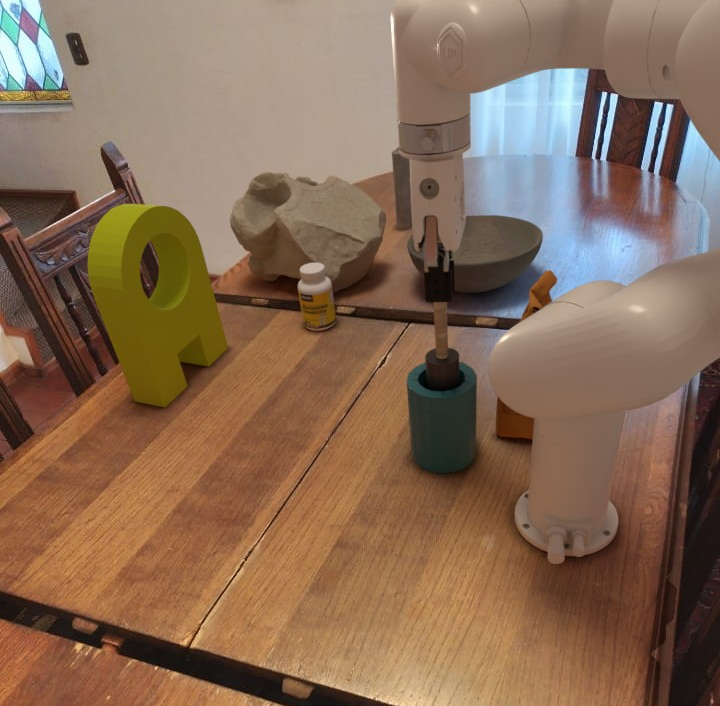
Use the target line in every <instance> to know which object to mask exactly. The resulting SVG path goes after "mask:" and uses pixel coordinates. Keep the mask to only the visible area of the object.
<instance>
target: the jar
mask: <svg viewBox="0 0 720 706" xmlns="http://www.w3.org/2000/svg"><path fill="white" fill-rule="evenodd" d="M459 368H460V382H459V384H458V386H456V387H455V388H453V389H450V390H446V391H438V390H434V389H431V388H430V387H429V386H428V385H427V379H426V361H425V362H423V363H420V364H419V365H416V366H414V367H413V369H412V370H411V371H409V372H408V373H407V376H406V377H407V378H406V389H407V390H406V393H407V394H406V395H407V406H408V408H407V409H408V420H409V421H408V423H409V435H410V447H411V448H410V449H411V452H412V454H411V456H412V459H413V461H414V462H415V464H416V465H417V466H418V467H420V468H421V469H422V470H426V471H427V472H430V473H435V474H451V473H455V472H458V471H462V470H464V469H465V468H467V467H468V466H470V465H471V464H472V463H473V461H474V460H475V458H476V455H477V405H478V403H477V402H478V401H477V400H478V399H477V397H478V396H477V395H478V394H477V393H478V392H477V391H478V387H477V386H478V376H477V373H476V372H475V370H474V369H473V367H471V366H470V365H468V364H467V363H465V362H463V361H459Z"/></svg>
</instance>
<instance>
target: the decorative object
mask: <svg viewBox="0 0 720 706" xmlns="http://www.w3.org/2000/svg"><path fill="white" fill-rule="evenodd" d="M149 242H151V244H152V246H153V248H154V251H155V254H156V256H157V263H158V277H157V283H156V285H155V288H154V290H153V293H152V294H151V296H150V297H149V298H148V297H147V294H146V293H145V290H144V288H143V284H142V279H141V263H142V257H143V253H144V251H145V248H146V247H147V245H148V244H149ZM87 276H88V282H89V287H90V290H91V293H92V296H93V299H94V300H95V304H96V307H97V309H98V312H99V314H100V318H101V319H102V321H103V324H104V327H105V329H106V331H107V334H108V337H109V340H110V342H111V344H112V347H113V350H114V352H115V354H116V357H117V360H118V362H119V366H120V367H121V370H122V373H123V376H124V378H125V381H126V383H127V385H128V388H129V391H130V393H131V396H132V398H133V401H134V402H135V403H141V404H146V405H150V406H156V407H161V408H166V407H167V406H168V405H170V404H171V403H172V402H173V401H174V400H175V399H176V398H177V397H178V396H179V395H180V394H181V393H182V392H183V391H185V390H186V389H187V388H188V383H187V379H186V376H185V374H184V370H183V367H182V364H181V363H186V364H192V365H197V366H204V367H210V366H211V365H212V364H213V363H214V362H216V360H218V359H219V358H220V357H221V356H222V355H223V354H224V353H225V352H226V351H227V350H228V349H229V346H228V342H227V338H226V335H225V330H224V326H223V322H222V319H221V318H222V317H221V315H220V311H219V307H218V304H217V301H216V296H215V292H214V288H213V285H212V281H211V277H210V273H209V269H208V266H207V262H206V259H205V255H204V251H203V248H202V244H201V241H200V238H199V236H198V234H197V231H196V229H195V228H194V225H192V223H191V221H190V220H189V219H188V218H187V217H186V215H184V214H183V213H182V212H181V211H179V210H177V208H176V209H175V208H173V207H171V206H167V205H157V204H156V205H155V204H143V203H142V204H140V203H123V204H119V205H117V206H115V207H113V208H111V209H109V210H108V211H107V212H106V213H105V214H104V215H103V216H102V217H101V219H100V220H99V222H97V224H96V226H95V229H94V231H93V233H92V235H91V239H90V241H89V245H88V252H87Z"/></svg>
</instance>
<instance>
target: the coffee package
mask: <svg viewBox="0 0 720 706" xmlns="http://www.w3.org/2000/svg"><path fill="white" fill-rule="evenodd" d="M557 282H558V277H557V276H556V275H555V273H554V272H553V271H552V270H545V271H544V273H543V274H542V275H541V276H540V278H539V279H538V280H536V282H535V283H534V284H533V286H531V288H529V290H528V292H529V293H528V302H527V304H526V306H525V308H524V310H523V312H522V315H521V319H520V320H519V321H518V323H520V322H521V321H523V320H524V319H526V318H528V317H529V316H531V315H532V314H534V313H536V312H537V311H539V310H540V309H541V308H543V307H544V306H546V305H547V304H549V303H550V302H552V301H553V300H552V296H551V293H550V291H551V290H552V289H553V288H554V287H555V286H556V285H557ZM496 397H497V399H496V411H495V412H496V413H495V433H496V435H497V436H499V437H502V438H515V439H516V438H523V439H527V440H532V441H533V428H534V419H535V418H531V417H528V416H525V415H522V414H520V413H518V412H516V411H514V410H512V409H511V408H509V407H508V406H507V405H505V404H504V403H503V402H502V401H501V400H500V398H499V397H498V396H497V395H496Z"/></svg>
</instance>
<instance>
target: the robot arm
mask: <svg viewBox="0 0 720 706" xmlns="http://www.w3.org/2000/svg"><path fill="white" fill-rule="evenodd" d="M390 35H391V48H392V62H393V63H392V64H393V76H394V77H393V78H394V79H393V80H394V91H395V92H394V94H395V107H396V119H397V121H396V122H397V123H396V124H397V137H398V147H399V151H400V155H401V156H402V157H405V158H408V159H410V191H411V214H412V226H411V229H412V234H413V241H414V247H415V249H416V250H417V251H418V252H419V253H420V252H421V251H422V248H423V254H424V276H423V281H424V283H423V284H424V299H425V302H427V303H434V302H447V303H451V302H452V300H453V293H455V291H454V289H455V279H454V260H449V259H452V258H453V252H455V251H456V250H457V249H458V248H459V246H460V243H461V239H462V236H463V232H464V228H465V223H466V216H467V212H466V193H465V169H464V168H465V167H464V153H466V152H467V151H469V150H470V149H471V146H472V145H471V130H472V129H471V127H472V126H471V94H478V93H483V92H487V91H489V90H491V89H495V88H497V87H500V86H502V85H505V84H508V83H510V82H512V81H515V80H518V79H521V78H524V77H526V76H529V75H532V74H535V73H539V72H542V71H547V70H558V69H559V70H560V69H563V70H564V69H565V70H566V69H567V70H568V69H579V70H580V69H584V70H586V69H587V70H603V71H605V75H606V79H607V81H608V83H609V86H611V88H612V89H613V90H614V92H616V93H617V94H618V95H620V96H622V97H624V98H627V99H644V100H645V99H649V100H651V99H652V100H679V101H680V102H681V105H682V108H683V109H684V111H685V113H686V114H687V116H688V119H689V120H690V121H691V123H692V125H693V126H694V128H695V130H696V131H697V133H698V134H699V136H700V137H701V138H702V140H703V141H704V143H705V144H706V145H707V147H708V148H709V150H710V151H711V152H712V154H713V155H714V156H715V158H716V159H717V160H718V162H720V0H395V1H394V2H393V5H392V7H391V11H390ZM438 253H443V257H442V255H438ZM519 322H520V321H519ZM519 322H518V323H517V324H515V325H513V326H512V327H510V328H508V330H507V331H506V332H504V333H503V334H502V335H501V336H500V337H499V339H498V340H497V341H496V343H495V344H494V347H493V348H492V350H491V352H490V353H491V354H490V357H489V361H488V377H489V381H490V384H491V387H492V389H493V391H494V393H495V394H496V397H497V396H498V397H499V398H500V400H501V401H502V402H503V403H504V404H505V405H507V406H508V407H509V408H511V409H512V410H514V411H516V412H518V413H520V414H522V415H525V416H528V417H531V418H535V419H534V428H533V440H532V442H531V443H532V444H531V454H530V455H531V456H530V470H529V481H528V489H527V490H526V491H525V492H523V493H522V494H521V495H520V496H519V498H518V499H517V502H516V504H515V505H514V506H515V507H514V516H513V517H514V523H515V526H516V529H517V531H518V532H519V534H520V535H521V536H522V538H524V539H525V540H526V541H527V543H529V544H531V545H532V546H534V547H535V548H537V549H539V550H541V551H544V552H547V561H548V562H549V563H550V564H553V565H559V564H562V563H564V561H565V560H566V559H565V557H577V558H581V557H583V556H586V555H591V554H593V553H597V552H598V551H602V549H604V548H605V547H607V546H609V544H610V543H611V542H612V541H614V539H615V537H616V534H617V531H618V527H619V515H618V511H617V509H616V507H615V505H614V504H613V502H612V501H611V500H610V497H611V492H612V487H613V481H614V475H615V470H616V464H617V459H618V453H619V448H620V443H621V437H622V431H623V428H624V423H625V417H626V414H627V413H626V412H628V411H633V410H637V409H641V408H645V407H648V406H651V405H653V404H656V403H658V402H660V401H662V400H664V399H667V398H668V397H670V396H671V395H673V394H674V393H676V392H678V391H679V390H680V389H682V387H684V386H685V385H686V384H687V383H688V382H690V381H691V380H692V379H693V378H695V377H696V376H697V375H698V374H700V373H701V372H702V371H703V370H704V369H706V368H707V367H708V366H709V365H711V364H712V363H714V362H715V361H717V360H719V359H720V247H718V248H715V249H711V250H709V251H705V252H702V253H697V254H693V255H690V256H686V257H682V258H679V259H675V260H671V261H668V262H665V263H662V264H660V265H658V266H656V267H654V268H653V269H651V270H649V271H647V272H645V273H644V274H642V276H640V277H638V278H636V279H635V280H633V281H632V282H630V283H628V284H627V285H625V284H623V283H620V282H618V281H614V280H606V279H605V280H604V279H603V280H593V281H589V282H585V283H583V284H580V285H577V286H576V287H574V288H572V289H570V290H568V291H566V292H565V293H563V294H562V295H560V296H558V297H557V298H554V300H552V302H550V303H549V304H547V305H546V306H544V307H543V308H541V309H540V310H539V311H537V312H536V313H534V314H532V315H531V316H529V317H528V318H526V319H524V320H523V321H521V322H520V323H519Z"/></svg>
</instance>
